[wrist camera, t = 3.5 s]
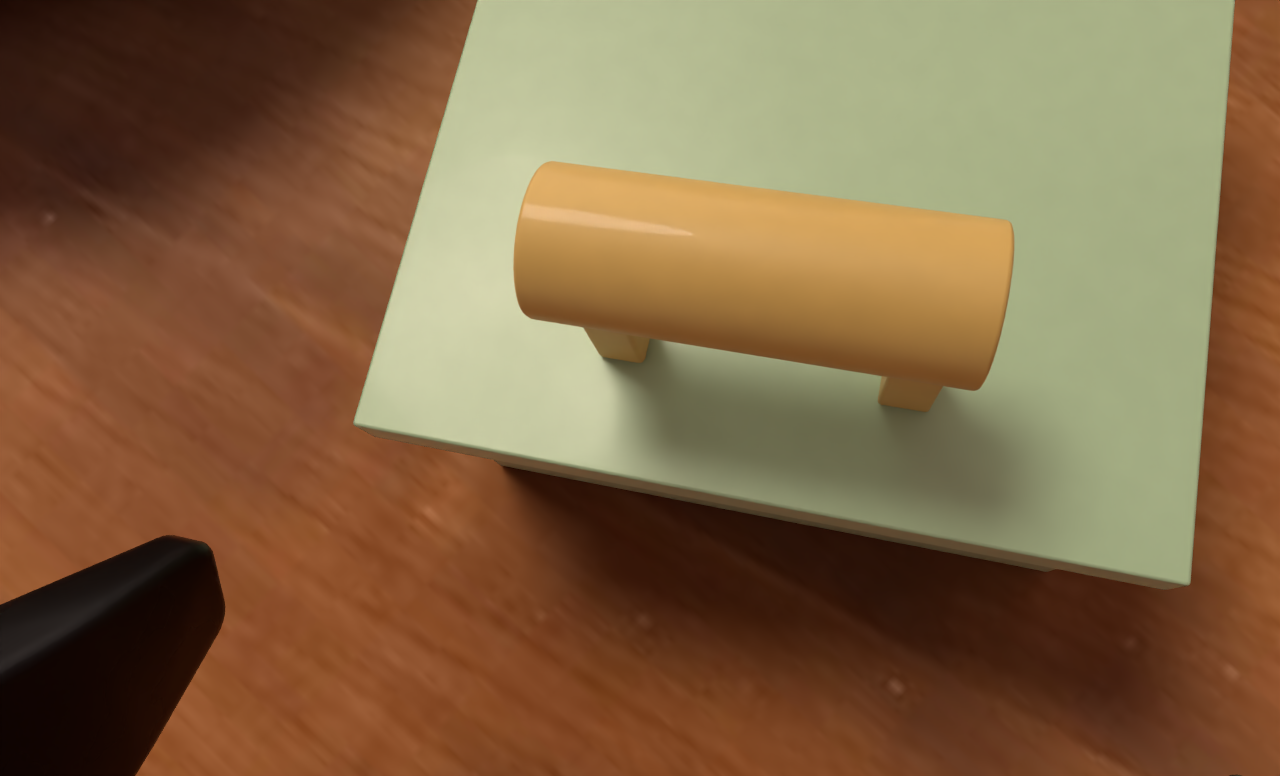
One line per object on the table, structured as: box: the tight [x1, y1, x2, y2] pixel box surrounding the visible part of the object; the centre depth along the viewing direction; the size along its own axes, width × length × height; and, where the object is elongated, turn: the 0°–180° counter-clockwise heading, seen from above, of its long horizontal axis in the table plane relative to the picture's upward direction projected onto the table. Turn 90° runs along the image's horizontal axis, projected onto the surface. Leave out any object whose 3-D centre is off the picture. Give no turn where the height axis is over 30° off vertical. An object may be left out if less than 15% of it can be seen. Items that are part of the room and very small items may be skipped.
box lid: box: [354, 0, 1235, 590], centre depth 13 cm, size 12×12×5 cm
